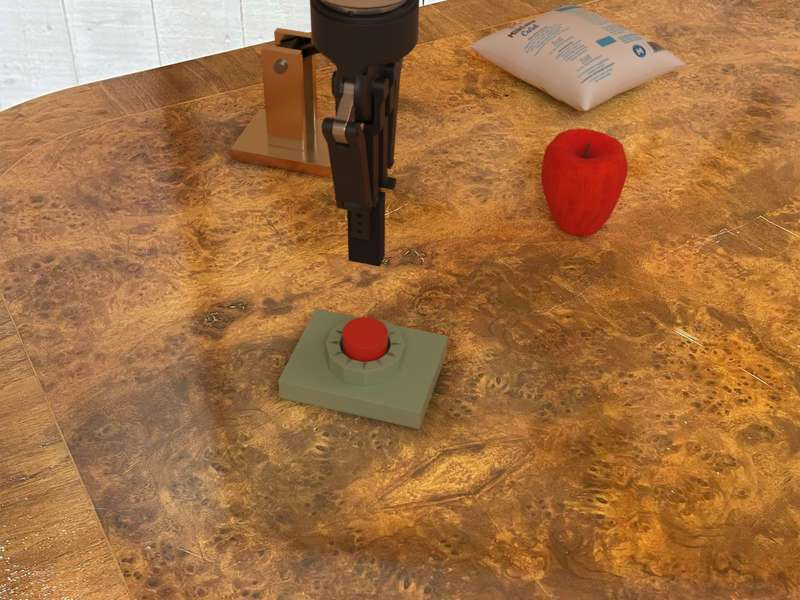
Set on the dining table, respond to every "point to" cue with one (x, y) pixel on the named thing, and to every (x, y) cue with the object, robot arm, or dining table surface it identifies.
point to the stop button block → (364, 371)
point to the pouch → (576, 56)
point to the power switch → (286, 113)
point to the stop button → (365, 339)
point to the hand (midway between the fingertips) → (366, 258)
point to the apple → (583, 179)
